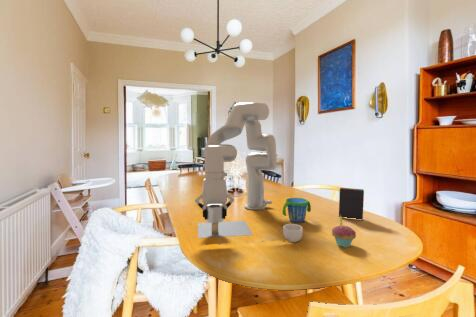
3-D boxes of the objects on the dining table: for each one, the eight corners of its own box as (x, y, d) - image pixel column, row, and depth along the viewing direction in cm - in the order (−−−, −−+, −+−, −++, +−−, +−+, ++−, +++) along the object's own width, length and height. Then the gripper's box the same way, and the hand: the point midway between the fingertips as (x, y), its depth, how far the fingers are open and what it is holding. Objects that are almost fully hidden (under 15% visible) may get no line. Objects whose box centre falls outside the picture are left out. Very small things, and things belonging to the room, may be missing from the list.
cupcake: (344, 251, 95) (345, 218, 94) (326, 242, 103) (327, 212, 101) (360, 246, 99) (361, 215, 98) (342, 238, 107) (343, 209, 105)
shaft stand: (245, 223, 124) (245, 209, 124) (252, 238, 107) (252, 221, 106) (198, 226, 121) (197, 211, 120) (198, 241, 103) (197, 224, 103)
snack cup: (288, 225, 122) (288, 204, 121) (277, 218, 132) (277, 198, 131) (316, 222, 127) (317, 201, 126) (304, 215, 137) (304, 196, 136)
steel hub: (222, 217, 113) (222, 203, 112) (224, 222, 106) (224, 207, 105) (206, 217, 112) (205, 204, 111) (206, 223, 105) (206, 208, 104)
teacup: (299, 245, 100) (300, 231, 99) (280, 241, 103) (280, 228, 103) (305, 236, 109) (305, 223, 108) (287, 233, 112) (287, 221, 112)
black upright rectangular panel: (362, 218, 132) (363, 189, 131) (362, 221, 128) (363, 190, 127) (339, 215, 137) (340, 187, 135) (338, 218, 133) (339, 188, 132)
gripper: (234, 174, 112) (234, 214, 114) (193, 174, 109) (193, 216, 111) (237, 176, 105) (236, 220, 106) (192, 177, 102) (193, 222, 104)
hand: (214, 218), depth 109 cm, fingers closed on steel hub, 7 cm apart
